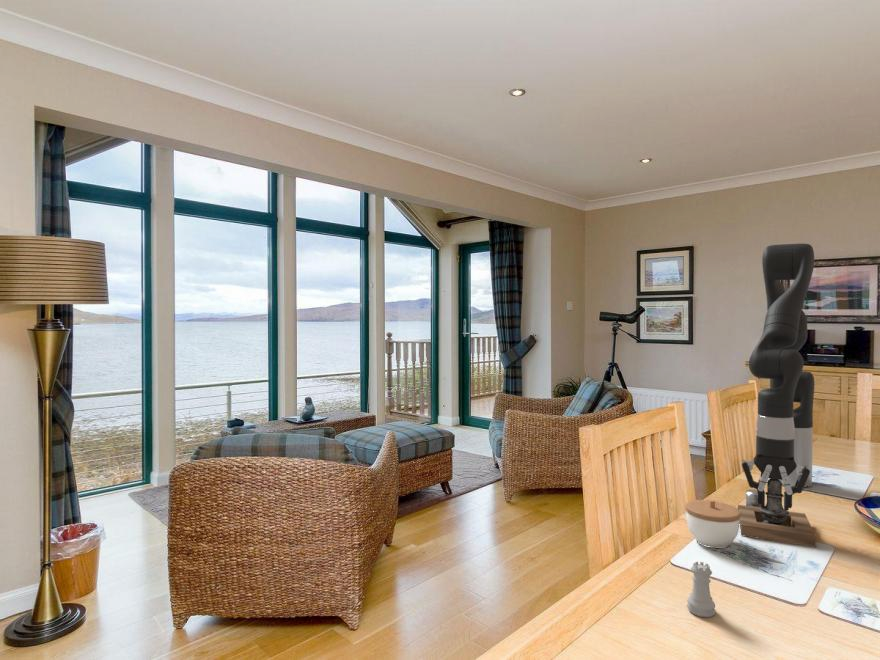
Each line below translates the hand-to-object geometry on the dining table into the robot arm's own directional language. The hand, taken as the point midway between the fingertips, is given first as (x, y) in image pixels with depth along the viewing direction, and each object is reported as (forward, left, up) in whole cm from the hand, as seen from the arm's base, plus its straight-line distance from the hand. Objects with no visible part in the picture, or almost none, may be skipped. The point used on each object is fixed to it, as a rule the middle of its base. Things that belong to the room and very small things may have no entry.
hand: (774, 507), depth 125 cm
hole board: (0, 0, -5) cm, 5 cm away
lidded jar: (+14, -13, -5) cm, 20 cm away
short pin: (-11, -3, -5) cm, 12 cm away
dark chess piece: (0, 0, -5) cm, 5 cm away
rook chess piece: (+45, -15, -5) cm, 48 cm away
